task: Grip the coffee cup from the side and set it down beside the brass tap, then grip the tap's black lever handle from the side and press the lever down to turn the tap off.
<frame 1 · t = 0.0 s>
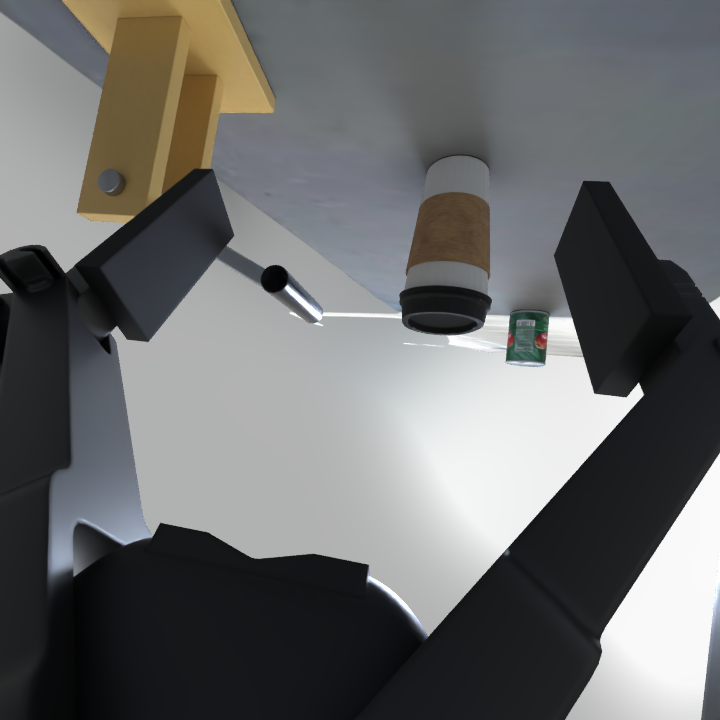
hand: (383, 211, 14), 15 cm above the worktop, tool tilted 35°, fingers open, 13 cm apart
tap lever: (213, 248, 23), point 14 cm above the worktop, hinge at 25.0°
coffee cup: (457, 173, 35), on the worktop
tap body: (178, 39, 25), on the worktop
canned tomato: (529, 313, 80), on the worktop
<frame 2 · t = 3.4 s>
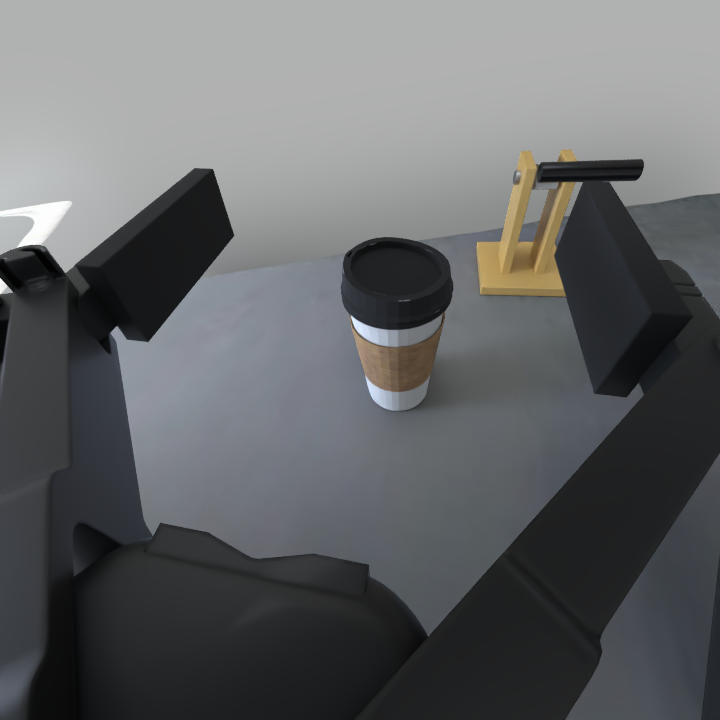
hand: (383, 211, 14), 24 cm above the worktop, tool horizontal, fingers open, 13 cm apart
tap lever: (561, 174, 34), point 14 cm above the worktop, hinge at 25.0°
coffee cup: (397, 388, 38), on the worktop
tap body: (517, 271, 48), on the worktop
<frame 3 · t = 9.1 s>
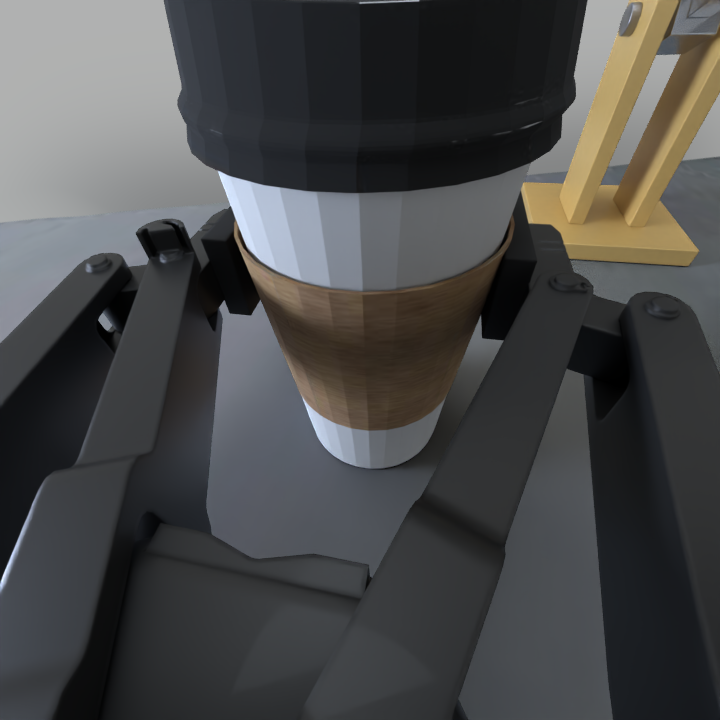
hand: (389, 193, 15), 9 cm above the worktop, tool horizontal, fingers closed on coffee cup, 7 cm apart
coffee cup: (373, 415, 18), on the worktop, touching gripper
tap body: (591, 226, 29), on the worktop
when the fingers open (8 cm above the worktop, at t = 17.1 s): coffee cup stays where it is, on the worktop.
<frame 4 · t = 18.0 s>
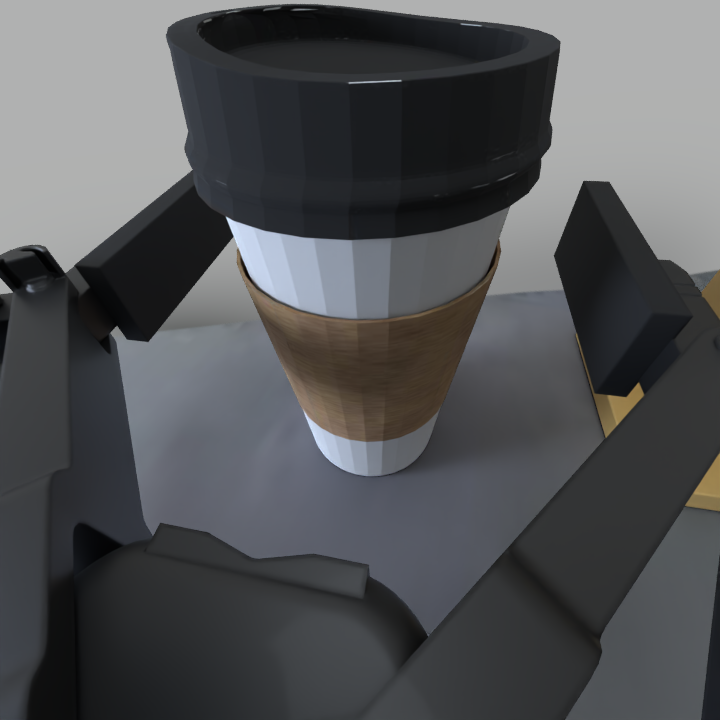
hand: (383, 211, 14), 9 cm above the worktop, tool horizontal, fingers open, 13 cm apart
coffee cup: (371, 423, 19), on the worktop
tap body: (704, 414, 18), on the worktop
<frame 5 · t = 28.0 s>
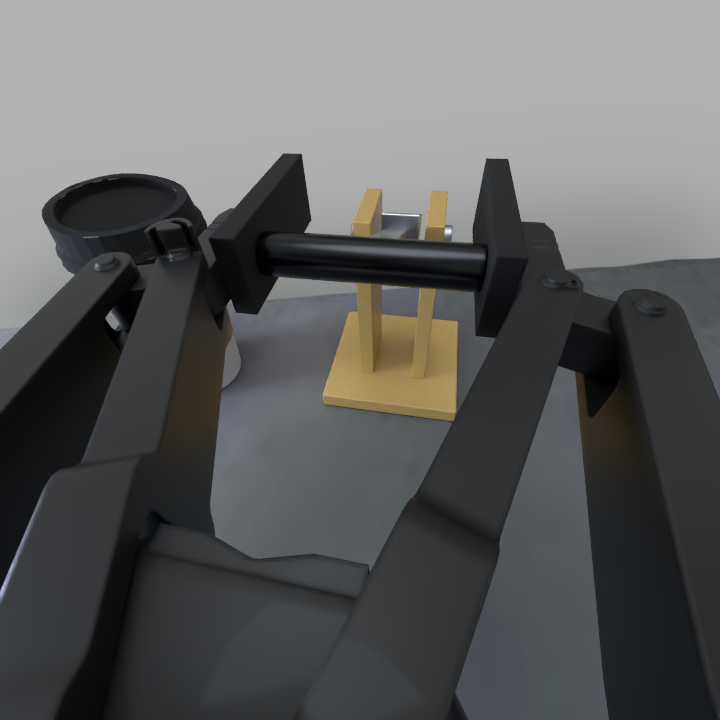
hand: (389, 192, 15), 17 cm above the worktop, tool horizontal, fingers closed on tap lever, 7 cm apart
tap lever: (390, 242, 17), point 14 cm above the worktop, hinge at 25.0°, touching gripper
coffee cup: (207, 370, 32), on the worktop
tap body: (395, 364, 31), on the worktop
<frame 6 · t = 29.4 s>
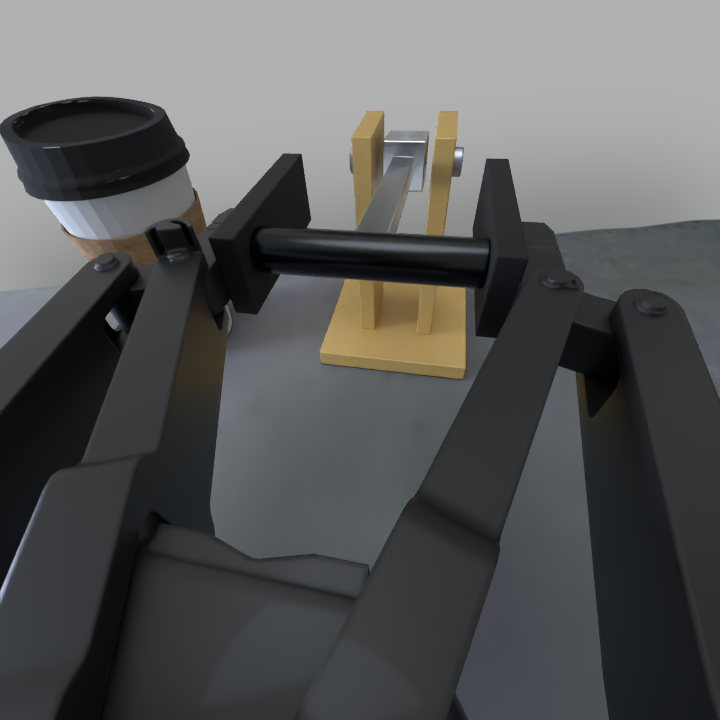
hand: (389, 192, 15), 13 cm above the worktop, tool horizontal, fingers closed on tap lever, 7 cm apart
tap lever: (392, 192, 16), point 13 cm above the worktop, hinge at 6.9°, touching gripper
coffee cup: (196, 332, 30), on the worktop
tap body: (398, 323, 29), on the worktop
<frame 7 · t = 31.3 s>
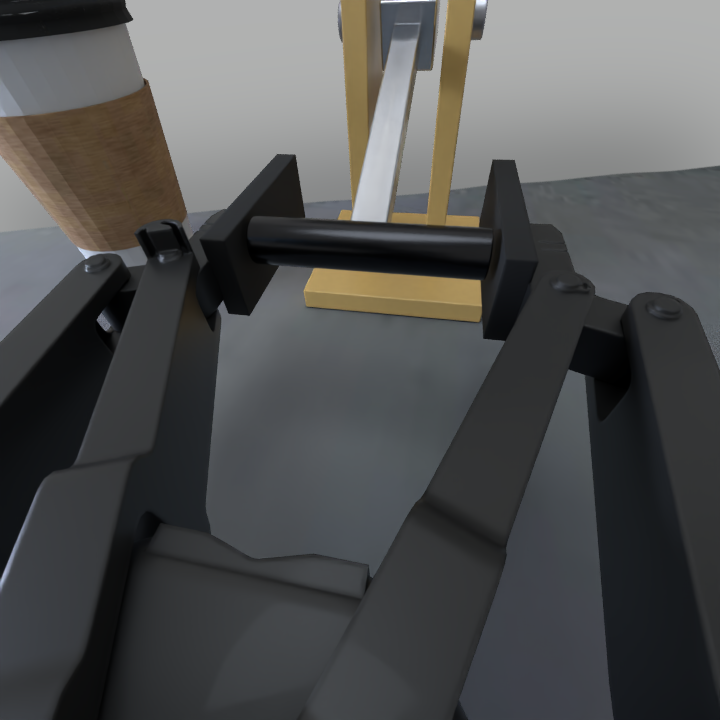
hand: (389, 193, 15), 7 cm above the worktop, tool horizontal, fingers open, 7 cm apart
tap lever: (393, 107, 13), point 10 cm above the worktop, hinge at -19.3°
coffee cup: (159, 276, 25), on the worktop
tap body: (399, 265, 24), on the worktop
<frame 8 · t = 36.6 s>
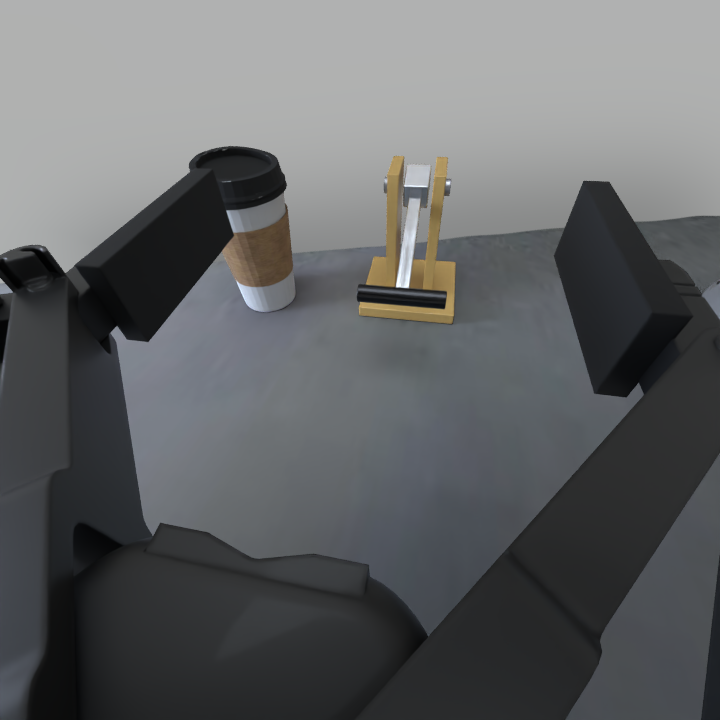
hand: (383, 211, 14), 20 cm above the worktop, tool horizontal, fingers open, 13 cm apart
tap lever: (410, 234, 32), point 10 cm above the worktop, hinge at -19.3°
coffee cup: (271, 297, 43), on the worktop
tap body: (409, 291, 43), on the worktop
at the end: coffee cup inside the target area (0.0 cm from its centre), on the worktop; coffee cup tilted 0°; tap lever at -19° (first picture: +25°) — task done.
